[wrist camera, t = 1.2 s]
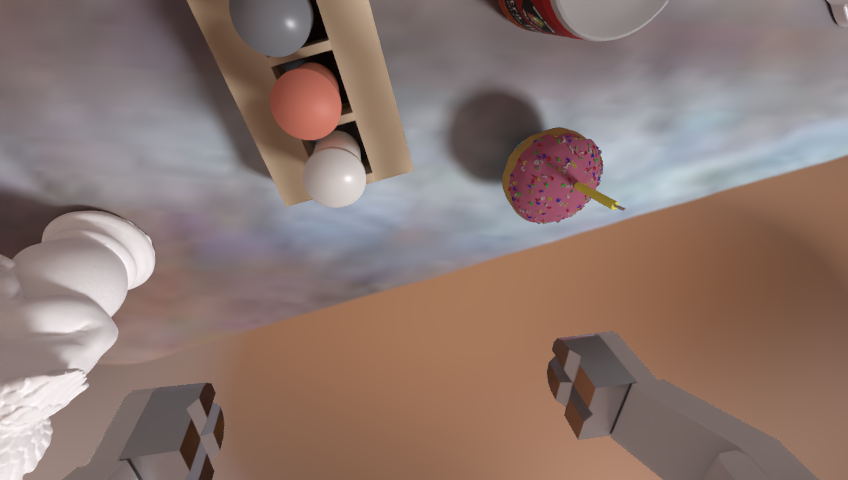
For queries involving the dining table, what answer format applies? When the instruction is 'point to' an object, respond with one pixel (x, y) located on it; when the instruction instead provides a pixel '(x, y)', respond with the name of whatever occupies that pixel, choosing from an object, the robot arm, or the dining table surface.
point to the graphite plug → (272, 24)
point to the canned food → (582, 16)
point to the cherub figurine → (60, 322)
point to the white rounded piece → (335, 171)
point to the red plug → (306, 101)
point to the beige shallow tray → (360, 73)
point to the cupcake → (554, 176)
